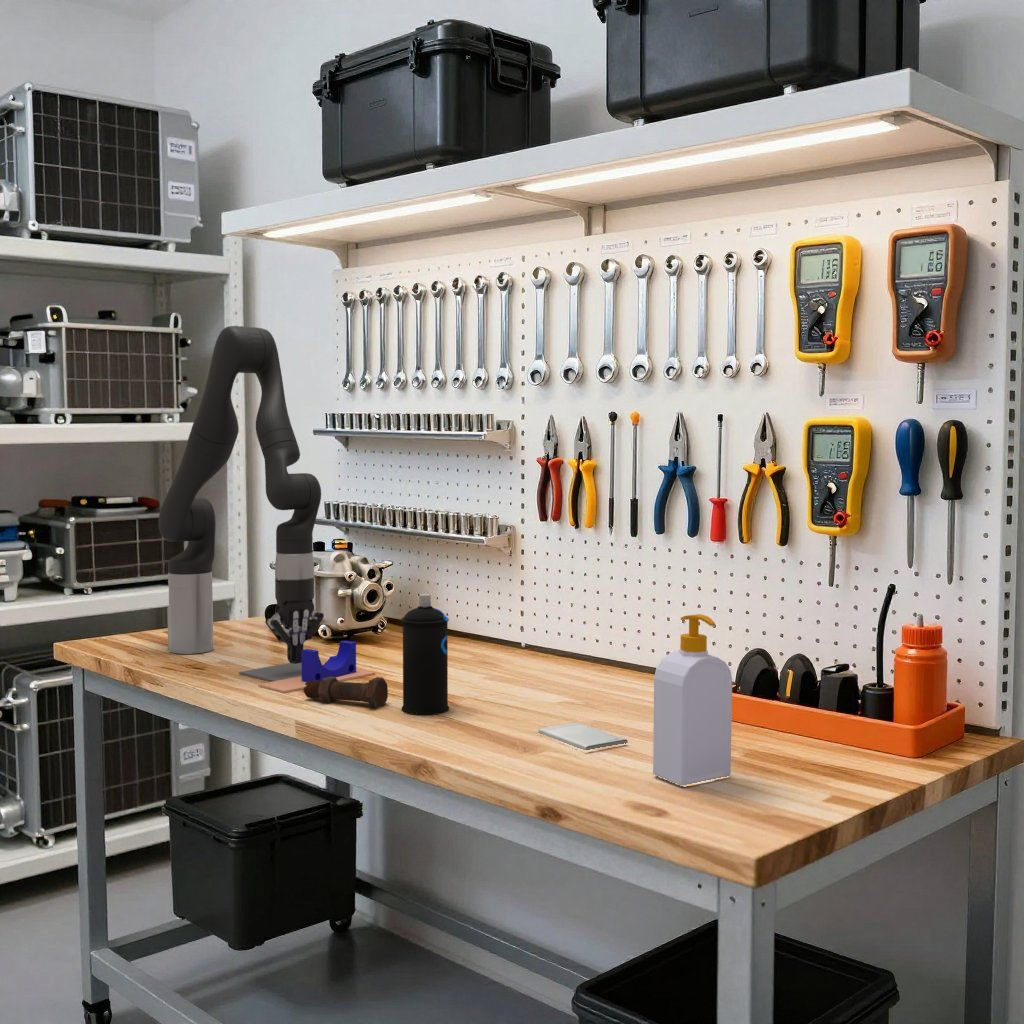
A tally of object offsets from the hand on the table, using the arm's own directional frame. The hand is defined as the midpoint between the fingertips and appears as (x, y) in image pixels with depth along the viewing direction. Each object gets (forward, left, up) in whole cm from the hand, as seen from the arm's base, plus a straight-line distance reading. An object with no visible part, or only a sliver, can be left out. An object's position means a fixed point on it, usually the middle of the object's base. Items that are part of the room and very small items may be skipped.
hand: (295, 662), depth 226 cm
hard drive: (+71, +1, -3) cm, 71 cm away
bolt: (+25, -8, -3) cm, 26 cm away
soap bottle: (+95, -4, -3) cm, 95 cm away
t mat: (+1, 0, -2) cm, 3 cm away
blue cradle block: (+7, +2, -2) cm, 8 cm away
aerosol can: (+39, -2, -3) cm, 39 cm away
